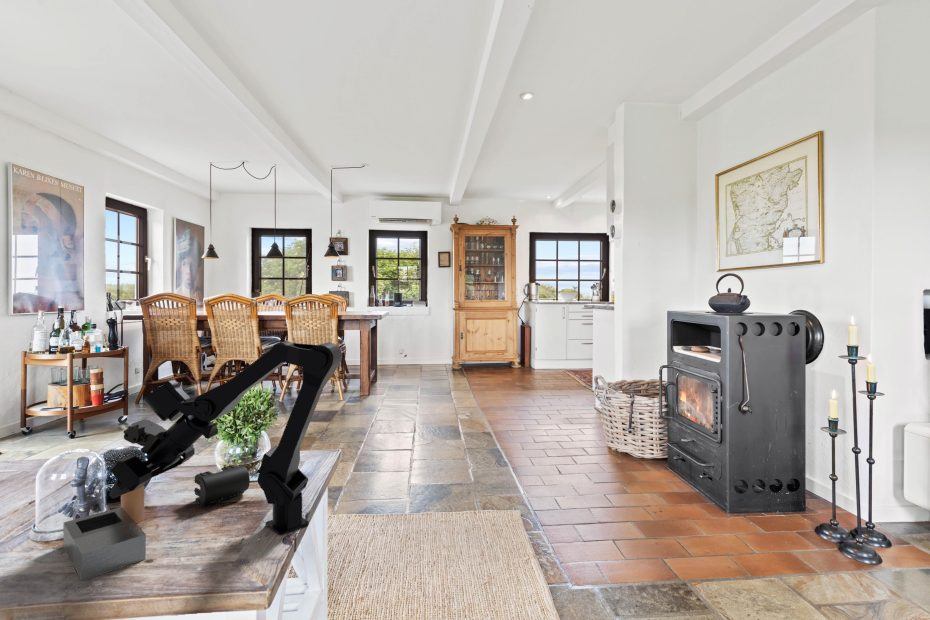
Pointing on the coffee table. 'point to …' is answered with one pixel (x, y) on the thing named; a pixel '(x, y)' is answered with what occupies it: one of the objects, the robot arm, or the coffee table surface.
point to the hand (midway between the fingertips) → (128, 487)
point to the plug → (134, 504)
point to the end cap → (221, 484)
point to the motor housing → (103, 542)
